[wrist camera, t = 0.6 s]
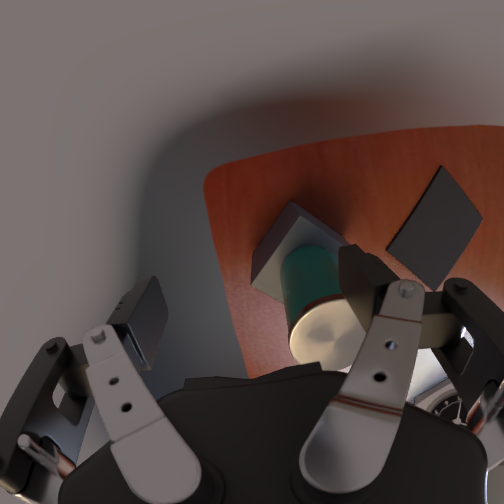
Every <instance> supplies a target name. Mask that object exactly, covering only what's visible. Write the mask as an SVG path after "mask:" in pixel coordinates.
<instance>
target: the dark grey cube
mask: <svg viewBox="0 0 504 504" xmlns="http://www.w3.org/2000/svg"><path fill="white" fill-rule="evenodd" d="M309 245H314V246H320V247H323V248H325V249H327V250H328V251H330V252H331V253H332V254H333V255H334V257H335V258H336V260H337V261H338V249H339V247H341V246H347V245H350V244H349V243H348V242H347V241H346V240H345V239H344V237H342V236H341V235H340V234H338V233H337V232H335V231H334V230H333V229H331V228H330V227H328V226H327V225H326V224H324V223H323V222H321V221H320V220H319V219H317V218H316V217H314V216H313V215H311V214H310V213H308V212H307V211H306V210H304V209H303V208H301V207H300V206H298V205H297V204H295V203H294V202H292V201H291V200H290V201H289V202H288V204H287V205H286V207H285V208H284V210H283V211H282V212H281V214H280V215H279V217H278V218H277V220H276V221H275V223H274V224H273V226H272V227H271V228H270V230H269V231H268V233H267V234H266V236H265V237H264V239H263V240H262V242H261V243H260V244H259V246H258V247H257V249H256V250H255V252H254V253H253V255H252V267H251V284H250V285H251V286H253V287H254V288H256V289H258V290H260V291H261V292H263V293H265V294H267V295H268V296H270V297H272V298H274V299H275V300H277V301H279V302H281V303H282V304H284V300H283V293H282V287H281V281H280V270H281V266H282V264H283V262H284V260H285V259H286V257H287V256H288V255H289V254H290V253H292V252H293V251H294V250H296V249H298V248H300V247H304V246H309Z"/></svg>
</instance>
